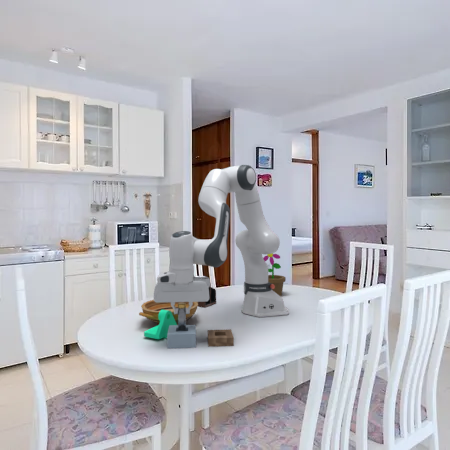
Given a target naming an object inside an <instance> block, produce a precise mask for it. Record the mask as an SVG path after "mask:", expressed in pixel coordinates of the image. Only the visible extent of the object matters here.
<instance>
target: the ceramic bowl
mask: <svg viewBox="0 0 450 450" xmlns="http://www.w3.org/2000/svg"><path fill="white" fill-rule="evenodd" d="M178 303H186V308H188V307H189V302H175V305H174V306H175V307H176V308H178ZM141 309H142V312H141V311H140V312H139V313H138V315H139V316H142V317H144V318H146V319H148V320H150V321H152V322H155V323H156V324H157V325H159V323H160V321H159V319H158V314H159V312H160V311H161V310H169V311H171V312H172V315H173V317H174V319H175V321H176V324H177V325H178V314H174V309H173V308H172V306H171V302H158V303H156V302H155V301H154V299H151V300H148V301H145V302H143V303H142V304H141ZM197 309H198V302H193V305H192V307H191V308H190V314H186V321H187V320H188V319H191V318H192V317H194V315H195V314H196V313H197Z"/></svg>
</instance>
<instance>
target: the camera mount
mask: <svg viewBox="0 0 450 450" xmlns="http://www.w3.org/2000/svg"><path fill="white" fill-rule="evenodd" d="M158 319H159V321H160V323H159V325H158V324H157V325H155V326H154V327H150V328H149V329H146V330H145V331H143V336H144V337H146V338H151V339H155V340H161V339H167V334H168V329H169V325H177V324H176V321H175V319H174V317H173V315H172V312H171V311H169V310H161V311H160V312H159V314H158Z"/></svg>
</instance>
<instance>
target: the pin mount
mask: <svg viewBox="0 0 450 450" xmlns="http://www.w3.org/2000/svg"><path fill="white" fill-rule="evenodd" d="M234 340H235V338H234V334H233V331H232V328H231V329H230V328H229V329H228V328H227V329H207V344H208V347H234V345H235V344H234V343H235V341H234Z"/></svg>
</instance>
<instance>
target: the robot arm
mask: <svg viewBox="0 0 450 450" xmlns="http://www.w3.org/2000/svg"><path fill="white" fill-rule="evenodd" d="M256 181H257V173H256V171H255V169H254V168H253V166H251V165H249V164H241V165H235V166H234V165H233V166H228V167H225V168H221V169H220V168H214V169H212V170H210V171H209V173H208V174H207V175H206V177H205V179H204V181H203V184H202V186H201V189H200V192H199V195H198V198H197V199H198V201H197V202H198V205H199V207H200V209H201V210H202V211H203V212H205V214H207V215H208V216H211V217H214V218H215V227H214V235H213V237H212V238H211V239H200V238H197V237H195V236H193V233H192V232H191V231H188V230H181V231H177V232H176V231H175V232H174V233H173V234H171V236H170V240H169V250H168V251H169V252H168V253H169V257H168V258H169V259H170V261H169V262H170V264H169V269H168V270H169V271H165V272H162V273H159V274H158V275H157V278H156V281H157V282H156V284H155V286H154V288H153V289H154V291H153V300H154V301H155V302H156V303H158V302H171V306H172V308H173V309H174V314H178V308H176V307H175V306H174V305H175V302H189V307H188V308H186V314H190V308H191V307H192V305H193V302H207V301H208V300H209V287H211V279H210V278H209V277H208V276H207V275H195V268H194V265H198V266H199V265H200V266H208V267H212V268H219V267H220V266H222V265H223V264H224V263H225V262H226V260H227V258H228V240H229V239H228V238H229V230H230V223H231V222H230V221H231V209H230V207H229V205H228V204H227V198H228V194H230V193H234V196H235V203H236V208H237V212H238V218H239V220H240V222H241V223H242V224H243V225H244V226H245V227H246V229H244V230H240V231H239V232H237V234H236V236H235V240H234V242H235V245H236V247H237V248H238V250H239V251H240V253H241V257H242V260H243V263H244V283H243V293H244V295H243V296H244V298H243V303H242V307H241V313H243V314H245V315H250V316H252V317H253V316H254V317H256V318H263V317H264V318H265V317H277V316H288V315H289V314H290V309H289V308H288V307H286V306H285V301H284V299H283V297H282V296H279V295H278V294H277V293H275V292H274V291H273V290H272V289H274V288H275V286H274V284H271V283H270V282H268V275H269V272H268V269H269V266H268V263H267V261H264V259H263V258H264V257H263V255H267V254H272V253H273V254H276V253H277V251H278V250H279V248H280V243H281V242H280V237H279V236H278V234H276V233H275V232H274V230H272V228H271V227H270V225H269V224H268V221H267V220H266V218H265V215H264V211H263V206H262V202H261V198H260V194H259V190H258V188H257V186H256V184H257V183H256Z"/></svg>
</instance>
